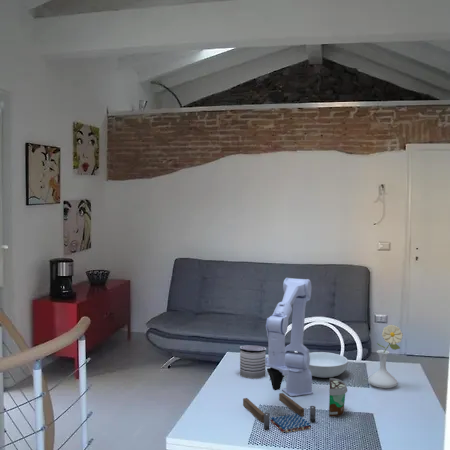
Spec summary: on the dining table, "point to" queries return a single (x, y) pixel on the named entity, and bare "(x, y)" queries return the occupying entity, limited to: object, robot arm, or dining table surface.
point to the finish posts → (267, 417)
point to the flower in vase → (382, 375)
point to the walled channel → (282, 398)
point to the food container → (336, 397)
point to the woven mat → (290, 423)
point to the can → (252, 361)
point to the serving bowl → (327, 364)
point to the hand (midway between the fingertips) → (276, 389)
